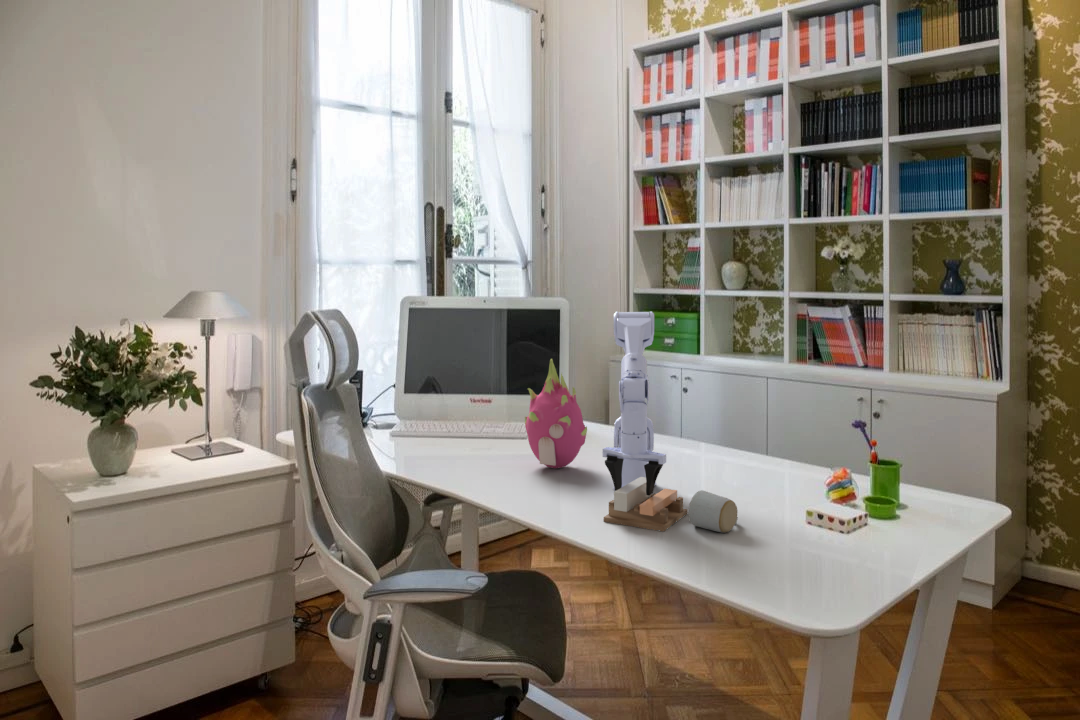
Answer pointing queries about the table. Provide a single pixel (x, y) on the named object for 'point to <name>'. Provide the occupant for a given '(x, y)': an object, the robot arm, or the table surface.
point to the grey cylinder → (712, 512)
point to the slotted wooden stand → (655, 522)
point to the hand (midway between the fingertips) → (633, 491)
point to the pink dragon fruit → (555, 423)
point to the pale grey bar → (630, 495)
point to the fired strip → (658, 502)
